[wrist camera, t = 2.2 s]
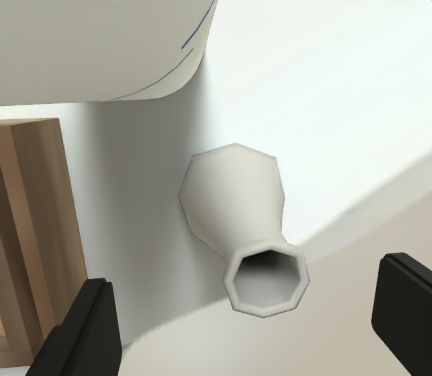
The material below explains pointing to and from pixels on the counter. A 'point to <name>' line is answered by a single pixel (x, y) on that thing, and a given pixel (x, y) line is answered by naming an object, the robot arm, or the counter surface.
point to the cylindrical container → (99, 49)
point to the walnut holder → (35, 238)
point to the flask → (245, 227)
